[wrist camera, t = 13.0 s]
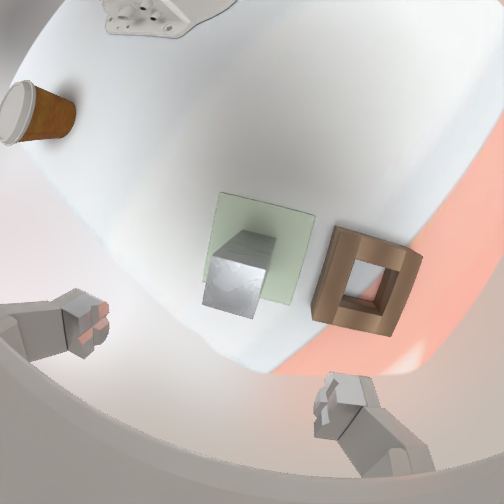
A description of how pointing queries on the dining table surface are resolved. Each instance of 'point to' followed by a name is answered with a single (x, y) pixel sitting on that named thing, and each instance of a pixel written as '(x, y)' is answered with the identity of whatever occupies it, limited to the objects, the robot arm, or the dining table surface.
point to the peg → (239, 273)
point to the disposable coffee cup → (34, 114)
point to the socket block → (389, 293)
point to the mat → (270, 224)
